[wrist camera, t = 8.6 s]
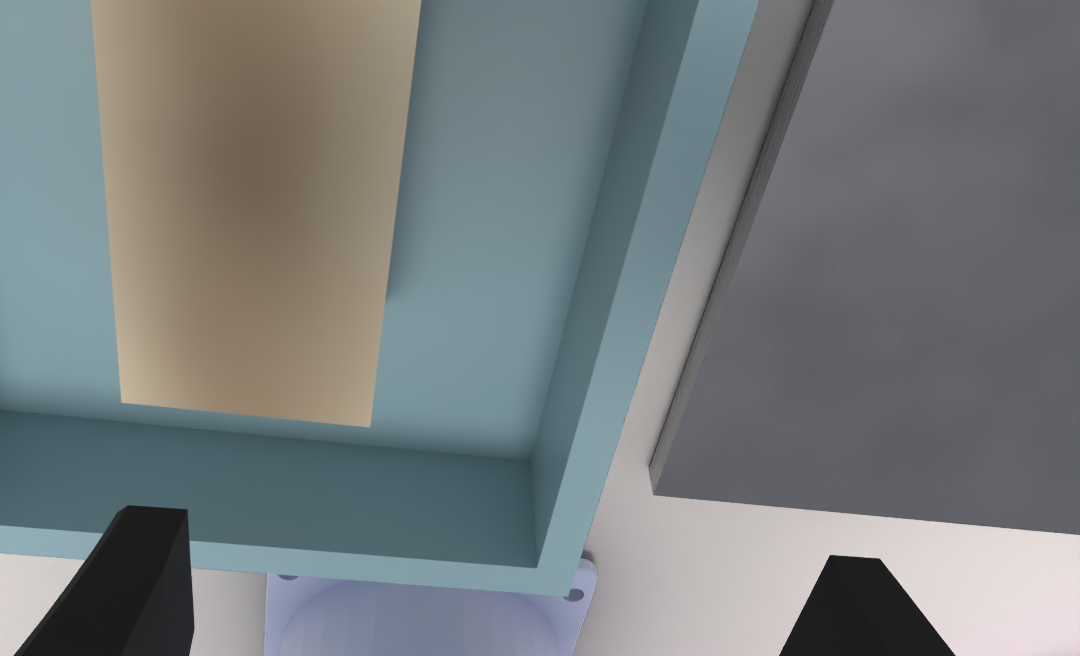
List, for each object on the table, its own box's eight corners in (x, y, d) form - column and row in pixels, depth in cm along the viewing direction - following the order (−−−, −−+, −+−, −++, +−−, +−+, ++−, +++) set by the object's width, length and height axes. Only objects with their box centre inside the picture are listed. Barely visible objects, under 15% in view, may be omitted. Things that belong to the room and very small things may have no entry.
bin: (557, 473, 24) (568, 596, 21) (-32, 417, 22) (-105, 544, 19) (919, -824, 12) (1060, -933, 9) (-358, -1221, 10) (-694, -1525, 7)
